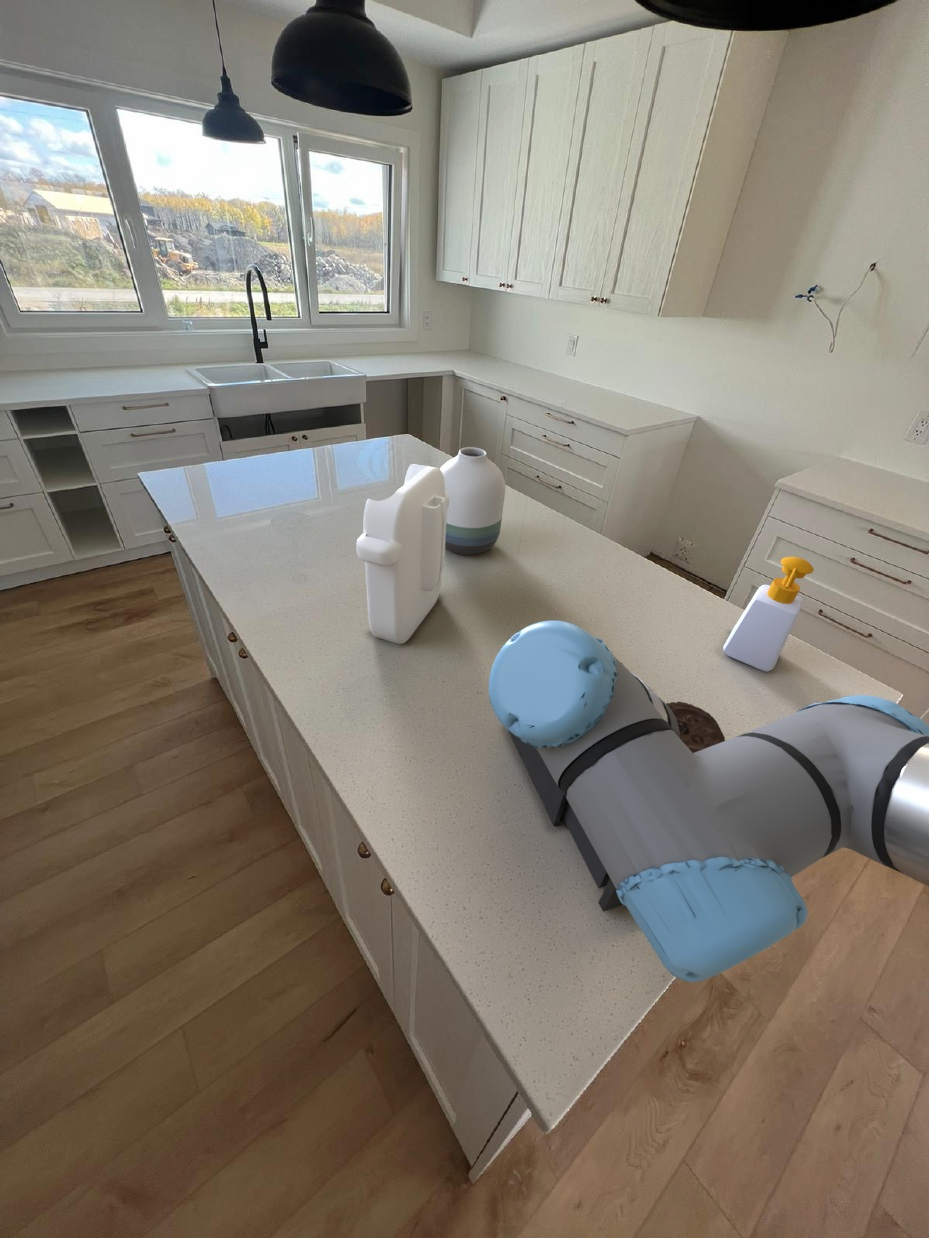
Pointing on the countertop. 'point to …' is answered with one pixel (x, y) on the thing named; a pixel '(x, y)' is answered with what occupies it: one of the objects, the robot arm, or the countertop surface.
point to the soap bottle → (768, 618)
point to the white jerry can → (404, 553)
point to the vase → (473, 501)
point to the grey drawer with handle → (591, 860)
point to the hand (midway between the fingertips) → (684, 766)
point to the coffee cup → (696, 726)
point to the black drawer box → (542, 780)
